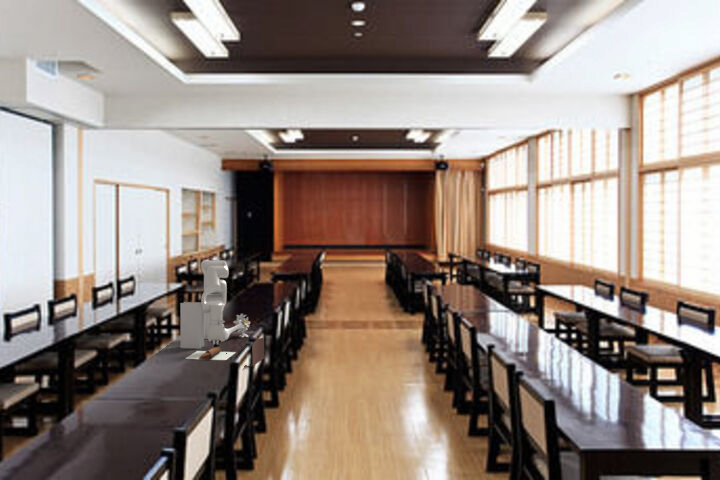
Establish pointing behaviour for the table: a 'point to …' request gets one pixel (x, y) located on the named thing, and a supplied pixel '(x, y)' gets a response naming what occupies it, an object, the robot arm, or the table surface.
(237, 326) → the flower vase
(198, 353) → the paper sheet
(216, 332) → the robot arm
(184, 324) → the tall grey upright box
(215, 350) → the sunglasses case
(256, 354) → the letter holder
